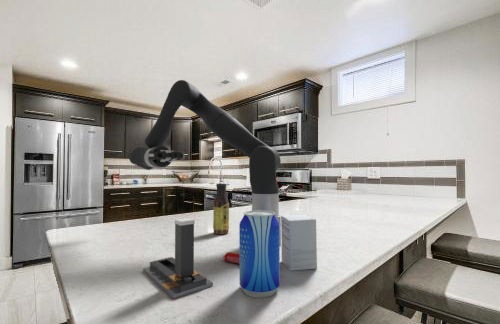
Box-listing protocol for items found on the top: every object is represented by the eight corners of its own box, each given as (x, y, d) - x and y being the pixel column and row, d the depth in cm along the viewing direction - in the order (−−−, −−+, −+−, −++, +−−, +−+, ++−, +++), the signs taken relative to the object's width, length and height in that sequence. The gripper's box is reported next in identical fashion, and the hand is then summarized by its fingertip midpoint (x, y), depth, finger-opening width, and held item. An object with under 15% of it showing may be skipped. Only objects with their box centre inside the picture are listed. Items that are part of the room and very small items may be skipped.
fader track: (143, 271, 64) (143, 262, 64) (177, 263, 70) (177, 255, 70) (172, 299, 50) (173, 288, 50) (212, 285, 56) (212, 275, 56)
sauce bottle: (226, 235, 99) (226, 183, 100) (210, 234, 101) (211, 183, 101) (230, 231, 106) (230, 183, 107) (216, 230, 107) (216, 183, 108)
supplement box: (306, 259, 72) (305, 214, 73) (317, 269, 65) (317, 218, 65) (280, 261, 71) (280, 215, 71) (289, 271, 64) (289, 219, 64)
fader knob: (173, 278, 57) (173, 219, 57) (186, 274, 59) (187, 217, 59) (181, 284, 54) (181, 222, 54) (195, 280, 56) (195, 220, 56)
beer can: (238, 281, 58) (238, 210, 58) (275, 280, 58) (275, 209, 59) (240, 300, 49) (240, 216, 50) (283, 298, 50) (283, 215, 51)
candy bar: (281, 267, 67) (281, 256, 67) (276, 273, 63) (276, 260, 64) (227, 259, 73) (227, 248, 74) (220, 263, 70) (220, 252, 70)
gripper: (175, 167, 97) (197, 166, 84) (138, 167, 89) (157, 166, 75) (175, 147, 97) (197, 143, 84) (139, 145, 89) (157, 140, 76)
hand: (178, 154), depth 80 cm, fingers closed
